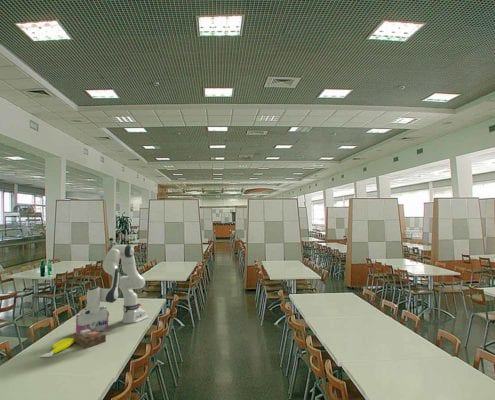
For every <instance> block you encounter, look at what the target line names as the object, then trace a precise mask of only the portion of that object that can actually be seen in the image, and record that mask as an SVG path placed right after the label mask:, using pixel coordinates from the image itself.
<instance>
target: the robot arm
mask: <svg viewBox="0 0 495 400" xmlns="http://www.w3.org/2000/svg"><path fill="white" fill-rule="evenodd" d="M120 260H121V261H120ZM120 262H121V268H122V272H123V273H124V274H125V275H122V276H121V270H120V268H119V263H120ZM102 269H103V270H104V272H105V273H106V274H108V275H110V276H111V277H112V279H111V287H110V288H102V287H100V286H99V285H93V286H90V287H89V288H87V293H86V306H85V307H84V308H83V309H81V310H79V311H78V313H79V314H78V315H79V317H78V325H79V326H83V325H86V324H89V326H90V329H94V328H95V326H96V324H97V321H101V320H104V319H106V318H107V311H108V310H107V309H108V308H107V306H101V303H109V304H112V303H114V302H116V301H117V300H118V298H119V289H120V290H121V292H122V295H123V296H122V297H123V304H122V305H123V306H122V307H123V309H122V310H123V313H122V319H121V323H123V324H131V323H132V324H133V323H134V324H136V323H140V322H141V321H144V320H146V319H147V318H149V315H147V314H146V311H145V310H144V309H142V307H141V306H142V303H138V294H137V293H136V292H134V290H133V289H135V290H138V289H143V287H144V286H145V285H146V279H145V278H144V277H143V276H142V275H141V274H140V273H139V271H138V270H137V266H136V259H135V248H134V246H133V245H132V244H117V245H116V244H115V245H114V244H113V245H110V246H109V247H108V249H107V254H106V256H105V258H104V261H103V263H102ZM92 323H94V325H93V326H92Z"/></svg>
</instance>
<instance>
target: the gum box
mask: <svg viewBox="0 0 495 400" xmlns="http://www.w3.org/2000/svg"><path fill="white" fill-rule="evenodd" d="M79 315H80V314H77V315H75V334H77V333H80V331H82V330H85V329H89V330H90V326H89V324H86V325H83V326H79V325H78V317H79ZM109 315H110V313H109V311H108V310H107V318H106V319H104V320H101V321H97V324H96V326H95V328H94V329H92V330H95V331H98V332H102V331H107V330H109ZM93 325H94V323H92V326H93Z"/></svg>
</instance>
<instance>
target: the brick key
mask: <svg viewBox="0 0 495 400" xmlns="http://www.w3.org/2000/svg"><path fill="white" fill-rule="evenodd" d="M96 336H98V333H97V332H95V331H94V332H91V333H88V334H87V337H89V338H94V337H96Z"/></svg>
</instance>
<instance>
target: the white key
mask: <svg viewBox="0 0 495 400" xmlns="http://www.w3.org/2000/svg"><path fill="white" fill-rule="evenodd" d="M88 333H91V330H89V329H85V330H82V331H80V334H81V335H87V334H88Z"/></svg>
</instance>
